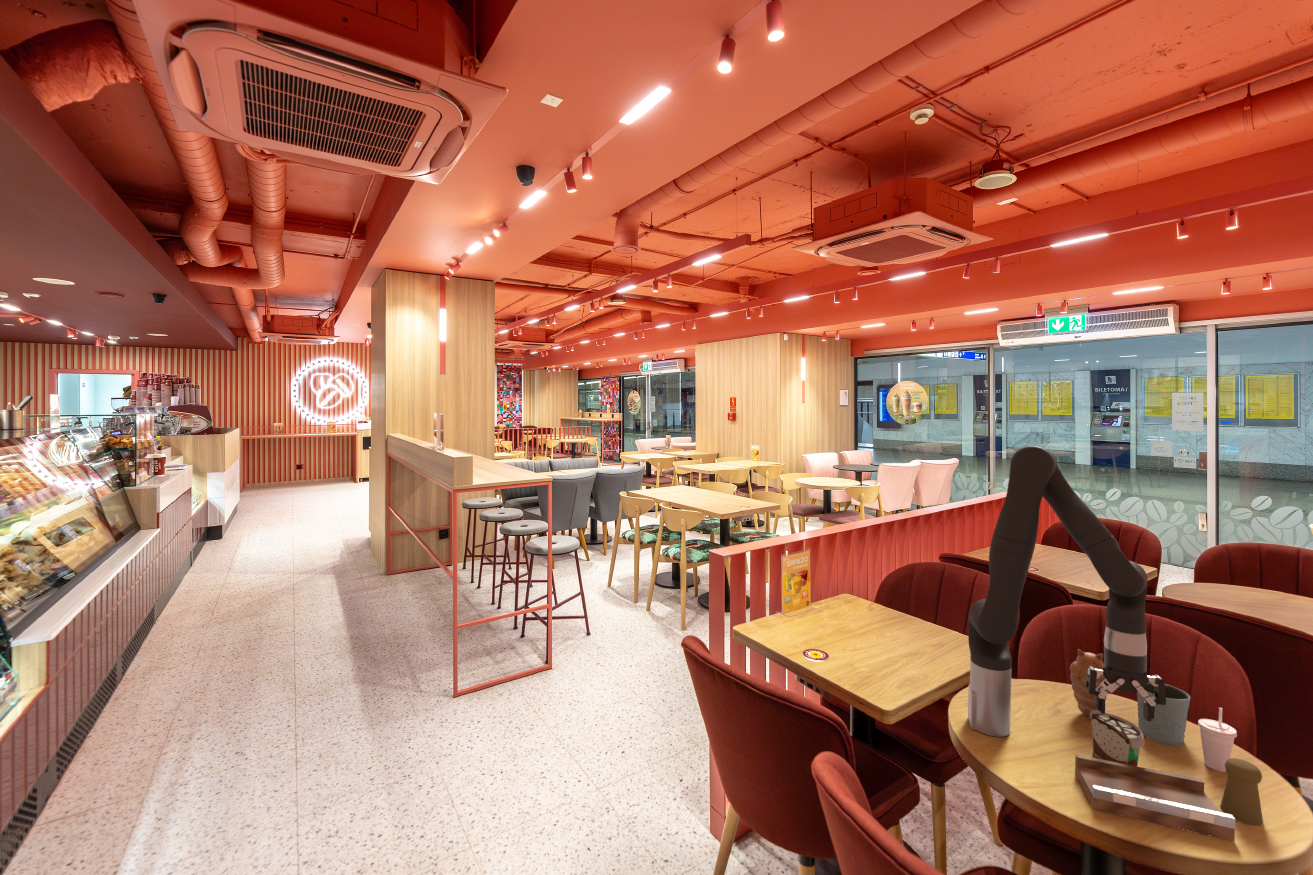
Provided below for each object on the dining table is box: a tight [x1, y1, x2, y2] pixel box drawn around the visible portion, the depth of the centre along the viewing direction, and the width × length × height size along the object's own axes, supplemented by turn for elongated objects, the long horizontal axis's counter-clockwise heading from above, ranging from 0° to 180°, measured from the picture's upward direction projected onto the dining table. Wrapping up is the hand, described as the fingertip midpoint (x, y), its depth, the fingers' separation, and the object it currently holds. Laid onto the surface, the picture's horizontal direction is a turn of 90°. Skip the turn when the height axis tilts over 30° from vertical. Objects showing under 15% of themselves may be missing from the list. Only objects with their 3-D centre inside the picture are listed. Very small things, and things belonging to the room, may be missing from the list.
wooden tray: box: [1074, 754, 1236, 842], centre depth 115 cm, size 22×13×4 cm, turn 67°
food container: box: [1088, 711, 1146, 767], centre depth 128 cm, size 12×6×10 cm, turn 179°
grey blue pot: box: [1136, 681, 1191, 746], centre depth 139 cm, size 10×10×12 cm
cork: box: [1219, 757, 1264, 827], centre depth 112 cm, size 6×6×11 cm
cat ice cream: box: [1069, 648, 1107, 717], centre depth 149 cm, size 9×8×18 cm
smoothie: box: [1197, 707, 1238, 773], centre depth 127 cm, size 6×6×14 cm
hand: (1124, 715), depth 127 cm, fingers open, 8 cm apart
